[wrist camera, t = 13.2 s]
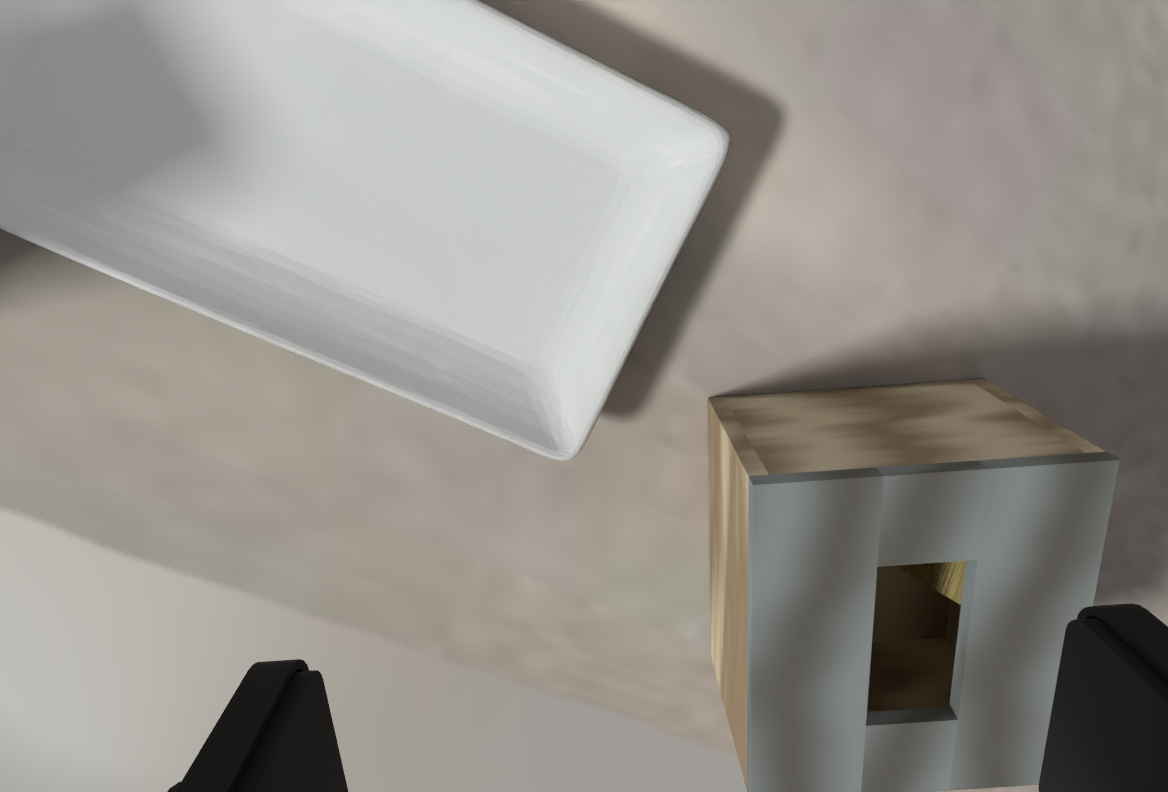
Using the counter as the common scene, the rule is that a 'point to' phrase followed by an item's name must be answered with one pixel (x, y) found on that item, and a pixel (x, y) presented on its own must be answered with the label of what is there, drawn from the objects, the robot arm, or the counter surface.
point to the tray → (362, 187)
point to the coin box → (896, 582)
